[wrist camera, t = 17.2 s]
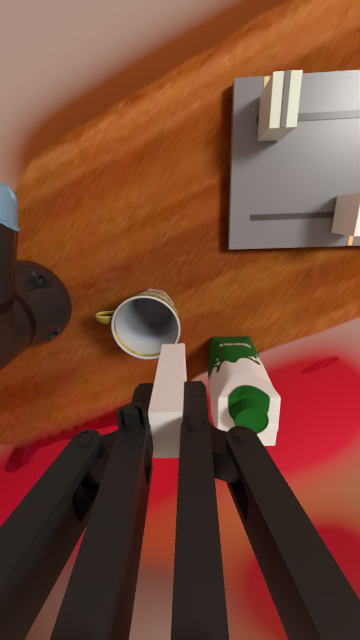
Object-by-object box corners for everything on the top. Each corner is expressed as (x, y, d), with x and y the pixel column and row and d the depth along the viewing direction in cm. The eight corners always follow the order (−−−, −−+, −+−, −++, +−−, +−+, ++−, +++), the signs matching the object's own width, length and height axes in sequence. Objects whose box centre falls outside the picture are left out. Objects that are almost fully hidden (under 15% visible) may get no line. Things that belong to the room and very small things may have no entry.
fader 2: (331, 232, 40) (354, 236, 34) (337, 195, 38) (363, 192, 32) (352, 232, 39) (379, 235, 34) (359, 194, 38) (389, 191, 32)
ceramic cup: (186, 283, 46) (185, 302, 37) (178, 335, 50) (175, 364, 40) (111, 271, 46) (91, 287, 36) (108, 325, 49) (89, 351, 40)
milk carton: (254, 331, 49) (292, 405, 30) (251, 374, 52) (284, 464, 33) (206, 332, 49) (214, 405, 31) (206, 374, 53) (213, 463, 34)
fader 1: (257, 141, 36) (269, 127, 30) (260, 94, 34) (273, 71, 28) (280, 140, 36) (297, 126, 30) (284, 93, 34) (303, 69, 28)
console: (227, 247, 43) (229, 249, 41) (232, 84, 36) (234, 77, 34) (368, 243, 42) (377, 245, 40) (405, 74, 34) (418, 65, 32)
